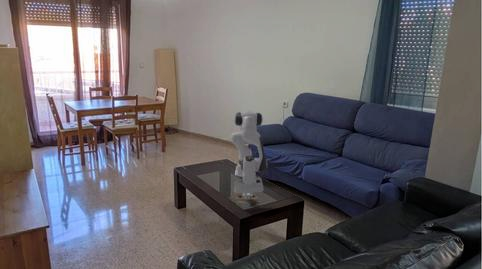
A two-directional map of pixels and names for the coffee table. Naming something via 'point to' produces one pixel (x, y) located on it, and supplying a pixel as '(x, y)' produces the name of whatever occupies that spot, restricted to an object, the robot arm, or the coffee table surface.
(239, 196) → the cradle board
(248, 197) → the white capsule with handle
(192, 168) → the coffee table surface
